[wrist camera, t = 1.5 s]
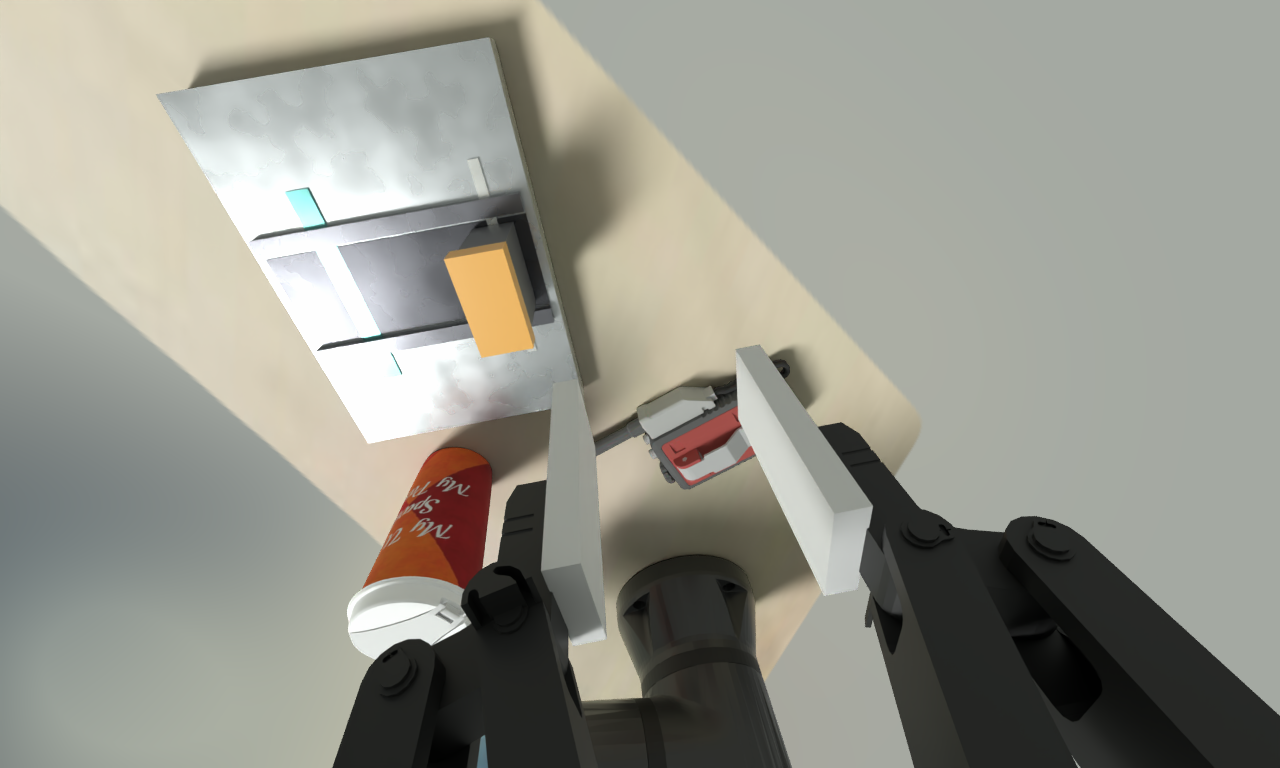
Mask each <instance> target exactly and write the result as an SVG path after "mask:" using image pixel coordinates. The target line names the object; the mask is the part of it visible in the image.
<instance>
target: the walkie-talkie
mask: <svg viewBox="0 0 1280 768" xmlns="http://www.w3.org/2000/svg"><path fill="white" fill-rule="evenodd" d="M772 363H773V364H774V366H775V367H776V368H779V367H783V370H781V371H780V372H779V373H780V374H781V376H782V377H783V378H786V377H787V376H788V375H789V373H790V367H789V365H788V364H787V362H786V361H785V360H781V359H780V360H776V361H772ZM637 414H638V418H636V419H634V420H633V421H631V422H629V423H627V426H625V427H623V428H621V429H620V430H618V431H616V432H614V433H612V434H610V435H608V436H606V437H605V438H603V439H601V440H599V441H597V442H595V443H594V444H595V452H596V456H597V455H599V454H601V453H603V452H605V451H607V450H609V449H611V448H613V447H614V446H616V445H618V444H620V443H622V442H624V441H626V440H628V439H630V438H631V437H637V436H639V435H641V434H643V433H644V432H646V435H644V436H643V439H644V441H645V443H646V444H647V445H648V444H650V445H651V448H652V449H651V450H649V453H650V455H651V457H652V458H653V459H655V458H658V459H659V460H660V469H661V472H662V474H663V475H664V477H665V479H666V480H667V482H669V483H674V482H675V480H676V482H677V483H678V484H679V486H680V487H681V488H683V489H691V488H693V487H695V486H697V485H699V484H701V483H703V482H705V481H707V480H709V479H711V478H713V477H715V476H717V475H719V474H721V473H723V472H725V471H727V470H729V469H731V468H733V467H734V466H736V465H739V464H740V463H742V462H745V461H746V460H748V459H751V458H752V457H754V456H756V454H755V452H754V450H753V448H752V446H751V444H750V442H749V440H748V438H747V436H746V434H745V432H744V430H743V428H742V425H741V423H740V421H739V419H738V399H737V379H736V380H735V381H733V382H729V384H727V385H723V386H721V387H716V388H714V389H712V387H711V385H710V386H709V387H707V388H706V387H678V388H676V389H675V390H673V391H671V392H669V393H667V394H665V395H663V396H662V397H660V398H658V399H656V400H654V401H652V402H650V403H649V404H643V405H642V406H640V407H638V408H637Z"/></svg>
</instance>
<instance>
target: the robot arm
mask: <svg viewBox="0 0 1280 768" xmlns="http://www.w3.org/2000/svg"><path fill="white" fill-rule="evenodd" d="M736 372H737V399H738V419H739V421H740V423H741V425H742V428H743V430H744V432H745V434H746V436H747V438H748V440H749V442H750V444H751V446H752V448H753V450H754V452H755V454H756V456H757V458H758V461H759V463H760V465H761V467H762V469H763V471H764V473H765V475H766V477H767V479H768V481H769V483H770V485H771V487H772V489H773V491H774V493H775V496H776V498H777V500H778V502H779V504H780V506H781V508H782V510H783V512H784V514H785V516H786V518H787V520H788V522H789V524H790V526H791V528H792V531H793V533H794V535H795V537H796V539H797V541H798V543H799V545H800V547H801V549H802V551H803V553H804V555H805V557H806V559H807V561H808V564H809V566H810V568H811V570H812V572H813V574H814V576H815V578H816V580H817V582H818V584H819V586H820V588H821V590H822V592H823V594H824V596H827V595H832V594H837V593H842V592H847V591H852V590H857V589H858V584H859V578H860V574H861V576H862V578H863V579H864V581H865V583H866V584H867V586H868V588H869V590H870V591H871V592H870V596H869V601H868V606H867V610H866V615H865V627H871V624H872V620H873V622H874V625H875V629H876V632H877V636H878V639H879V643H880V647H881V650H882V653H883V657H884V661H885V664H886V668H887V672H888V675H889V679H890V682H891V686H892V689H893V693H894V697H895V700H896V704H897V707H898V710H899V714H900V718H901V721H902V725H903V729H904V732H905V736H906V739H907V743H908V746H909V750H910V753H911V757H912V761H913V765H914V768H1078V767H1077V765H1076V763H1075V761H1074V759H1075V760H1076V762H1077V763H1078V765H1079V766H1080V767H1081V768H1280V716H1279V715H1278V714H1277V713H1276V712H1275V711H1274V710H1273V709H1272V708H1270V707H1269V706H1268V705H1267V704H1266V703H1265V702H1264V701H1263V700H1262V699H1261V698H1260V697H1258V696H1257V695H1256V694H1255V693H1254V692H1253V691H1252V690H1251V689H1250V688H1249V687H1247V686H1246V685H1245V684H1244V683H1243V682H1242V681H1241V680H1240V679H1239V678H1238V677H1237V676H1235V675H1234V674H1233V673H1232V672H1231V671H1230V670H1229V669H1228V668H1227V667H1225V666H1224V665H1223V664H1222V663H1221V662H1220V661H1219V660H1218V659H1217V658H1216V657H1215V656H1213V655H1212V654H1211V653H1210V652H1209V651H1208V650H1207V649H1206V648H1205V647H1204V646H1202V645H1201V644H1200V643H1199V642H1198V641H1197V640H1196V639H1195V638H1194V637H1193V636H1191V635H1190V634H1189V633H1188V632H1187V631H1186V630H1185V629H1184V628H1183V627H1182V626H1180V625H1179V624H1178V623H1177V622H1176V621H1175V620H1174V619H1173V618H1172V617H1171V616H1170V615H1168V614H1167V613H1166V612H1165V611H1164V610H1163V609H1162V608H1161V607H1160V606H1159V605H1157V604H1156V603H1155V602H1154V601H1153V600H1152V599H1151V598H1150V597H1149V596H1147V595H1146V594H1145V593H1144V592H1143V591H1142V590H1141V589H1140V588H1139V587H1138V586H1137V585H1135V584H1134V583H1133V582H1132V581H1131V580H1130V579H1129V578H1128V577H1127V576H1126V575H1125V574H1123V573H1122V572H1121V571H1120V570H1119V569H1118V568H1117V567H1115V565H1114V564H1112V563H1111V562H1110V561H1109V560H1108V559H1107V558H1106V557H1105V556H1104V555H1103V554H1101V553H1100V552H1099V551H1098V550H1097V549H1096V548H1095V547H1094V546H1092V545H1091V544H1090V543H1089V542H1088V541H1087V540H1086V539H1085V538H1084V537H1082V536H1081V535H1080V534H1078V533H1077V532H1075V531H1074V530H1073V529H1071V528H1070V527H1068V526H1065V525H1063V524H1061V523H1059V522H1056V521H1054V520H1050V519H1046V518H1042V517H1037V516H1028V517H1020V518H1017V519H1015V520H1013V521H1011V522H1010V523H1009V525H1008V526H1007V528H1006V530H1005V532H991V531H978V530H967V529H961V528H955V527H953V526H952V525H951V524H950V523H949V522H947V521H946V520H945V519H943V518H942V517H941V516H939V515H937V514H934V513H932V512H929V511H926V510H922V509H920V508H919V507H918V506H917V505H916V503H915V502H914V501H913V500H912V499H911V497H910V496H909V495H908V494H907V492H906V491H905V490H904V489H903V487H902V486H901V485H900V484H899V482H898V481H897V480H896V479H895V477H894V476H893V475H892V474H891V472H890V471H889V470H888V469H887V467H886V466H885V465H884V464H883V463H882V462H880V459H879V458H878V456H877V455H876V454H875V453H874V451H873V450H872V451H871V449H870V446H869V445H868V444H867V443H866V441H865V440H864V439H863V438H862V436H861V435H860V434H859V433H858V432H856V431H854V430H853V429H851V428H850V427H848V426H846V425H845V424H843V423H842V422H840V423H835V424H830V425H825V426H819V427H817V425H816V424H815V423H814V421H813V420H812V418H811V417H810V415H809V414H808V413H807V411H806V410H805V408H804V407H803V405H802V404H801V403H800V401H799V400H798V398H797V397H796V395H795V394H794V393H793V391H792V390H791V388H790V387H789V386H788V384H787V383H786V381H785V380H784V378H783V377H782V376H781V374H780V373H779V371H778V370H777V368H776V367H775V366H774V364H773V363H772V361H771V360H770V358H769V357H768V356H767V354H766V353H765V351H764V350H763V348H762V347H761V346H760V345H755V346H750V347H745V348H739V349H736ZM461 608H462V609H463V611H464V612H465V614H466V616H467V617H468V619H469V620H470V622H471V624H470V625H468V626H467V627H465V628H464V629H462V630H461V631H459V632H457V633H455V634H453V635H451V636H449V637H447V638H445V639H443V640H441V641H439V642H438V643H436V644H434V645H432V646H431V645H430V644H429V643H427V642H425V641H423V640H422V639H407V640H404V641H402V642H399V643H396V644H394V645H393V646H391V647H390V648H388V649H387V650H386V651H384V652H383V653H382V654H380V655H379V657H378V658H377V659H376V660H375V661H374V662H373V664H372V665H371V666H370V667H369V669H368V671H367V673H366V675H365V677H364V679H363V680H362V683H361V685H360V688H359V691H358V694H357V697H356V700H355V704H354V706H353V709H352V712H351V715H350V718H349V720H348V723H347V726H346V729H345V732H344V735H343V738H342V741H341V744H340V747H339V750H338V753H337V756H336V759H335V762H334V764H333V768H792V766H791V763H790V760H789V757H788V754H787V751H786V748H785V745H784V742H783V738H782V735H781V732H780V729H779V726H778V723H777V720H776V717H775V714H774V711H773V708H772V705H771V701H770V698H769V695H768V692H767V689H766V686H765V683H764V680H763V677H762V674H761V671H760V668H759V665H758V661H757V658H756V627H755V599H754V595H753V592H752V589H751V586H750V583H749V580H748V578H747V576H746V574H745V573H744V571H743V570H742V569H741V568H739V567H738V566H737V565H735V564H734V563H732V562H729V561H727V560H724V559H721V558H717V557H711V556H685V557H678V558H673V559H669V560H666V561H663V562H660V563H657V564H655V565H652V566H650V567H648V568H646V569H644V570H643V571H641V572H640V573H638V574H637V575H635V576H634V577H633V578H632V579H630V580H629V581H628V582H627V583H626V585H625V586H624V587H623V588H622V590H621V592H620V593H619V596H618V598H617V603H616V608H617V620H618V627H619V631H620V634H621V636H622V639H623V641H624V643H625V646H626V648H627V650H628V653H629V655H630V657H631V660H632V662H633V664H634V667H635V669H636V671H637V674H638V676H639V678H640V682H641V688H642V697H643V698H628V699H611V700H594V701H581V698H580V695H579V691H578V687H577V683H576V679H575V675H574V671H573V667H572V665H571V663H570V661H569V658H568V635H569V638H570V640H571V642H572V645H573V646H575V645H580V644H585V643H590V642H595V641H600V640H606V639H607V633H606V616H605V600H604V583H603V567H602V550H601V534H600V518H599V501H598V485H597V468H596V452H595V444H594V440H593V436H592V432H591V428H590V424H589V421H588V417H587V413H586V409H585V405H584V401H583V398H582V394H581V390H580V386H579V382H578V379H574V380H569V381H563V382H558V383H553V392H552V407H551V423H550V438H549V454H548V469H547V480H544V481H539V482H533V483H528V484H523V485H518V486H516V488H515V490H514V491H513V493H512V494H511V496H510V498H509V499H508V501H507V503H506V510H505V516H504V523H503V529H502V537H501V542H500V548H499V555H498V561H497V562H495V563H492V564H490V565H488V566H487V567H485V568H483V569H481V570H480V571H479V572H478V573H477V574H476V575H475V576H474V577H473V578H472V579H471V580H470V581H469V582H468V584H467V586H466V588H465V590H464V591H463V593H462V600H461ZM1072 756H1073V757H1072ZM1073 758H1074V759H1073Z"/></svg>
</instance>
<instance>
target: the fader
mask: <svg viewBox="0 0 1280 768" xmlns="http://www.w3.org/2000/svg"><path fill="white" fill-rule="evenodd" d="M444 261H445V264H446V267H447V269H448V272H449V274H450V277H451V280H452V282H453V285H454V287H455V290H456V293H457V295H458V298H459V300H460V303H461V306H462V308H463V311H464V313H465V316H466V319H467V321H468V324H469V326H470V329H471V332H472V334H473V337H474V339H475V342H476V345H477V347H478V350H479V352H480V355H481V358H484V357H489V356H495V355H500V354H505V353H511V352H516V351H521V350H527V349H532V348H534V343H535V336H534V332H533V329H532V324H533V318H534V312H535V306H536V299H535V295H534V292H533V288H532V285H531V281H530V278H529V274H528V271H527V267H526V264H525V260H524V257H523V253H522V250H521V246H520V243H519V239H518V236H517V232H516V229H515V226H514V222H507V223H502V224H496V225H491V226H485V227H480V228H474V229H472V230H471V231H470V233H469V234H468V236H467V237H466V239H465V240H464V242H463V243H462V245H461V246H460V248H459V249H458V250H455V251H450V252H449V253H448V254H447V256H446V257H445V258H444Z"/></svg>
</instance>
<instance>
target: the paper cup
mask: <svg viewBox="0 0 1280 768" xmlns="http://www.w3.org/2000/svg"><path fill="white" fill-rule="evenodd" d="M491 487H492V469H491V466H490V464H489V463H488V461H487V460H486V459H485V458H484V457H483V456H481V455H480V454H478V453H476V452H474V451H472V450H469V449H465V448H459V447H450V448H444V449H441V450H438V451H436V452H434V453H433V454H431V455H430V456H429V457H428V458H427V460H426V461H425V462H424V464H423V466H422V468H421V470H420V472H419V473H418V475H417V477H416V479H415V481H414V483H413V485H412V487H411V489H410V491H409V493H408V495H407V497H406V500H405V502H404V504H403V506H402V508H401V510H400V512H399V514H398V516H397V518H396V520H395V522H394V524H393V526H392V528H391V530H390V532H389V535H388V537H387V539H386V541H385V543H384V545H383V547H382V549H381V551H380V553H379V555H378V557H377V559H376V562H375V564H374V566H373V568H372V570H371V572H370V574H369V576H368V578H367V580H366V582H365V584H364V586H363V588H362V590H360V591H358V592H357V593H356V594H355V595H354V596H353V598H352V599H351V601H350V603H349V605H348V609H347V616H348V620H349V626H348V632H349V635H350V638H351V640H352V642H353V644H354V646H355V647H356V648H357V649H358V650H359V651H361V652H362V653H363V654H365V655H367V656H369V657H371V658H373V659H377V658H378V657H379V655H380V654H382V653H383V652H384V651H386V650H387V649H388V648H390V647H391V646H393V645H394V644H396V643H399V642H402V641H404V640H407V639H422V640H423V641H425V642H427V643H429V644H430V645H431V646H432V645H434V644H436V643H438V642H439V641H441V640H443V639H445V638H447V637H449V636H451V635H453V634H455V633H457V632H459V631H461V630H462V629H464V628H465V627H467V626H468V625H470V624H471V622H470V620H469V619H468V617H467V616H466V614H465V612H464V611H463V609H462V608H461V600H462V593H463V591H464V590H465V588H466V586H467V584H468V582H469V581H470V580H471V579H472V578H473V577H474V576H475V575H476V574H477V573H478V572H479V571H480V570H481V569H482V567H483V558H484V550H485V542H486V533H487V524H488V515H489V506H490V497H491Z"/></svg>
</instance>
